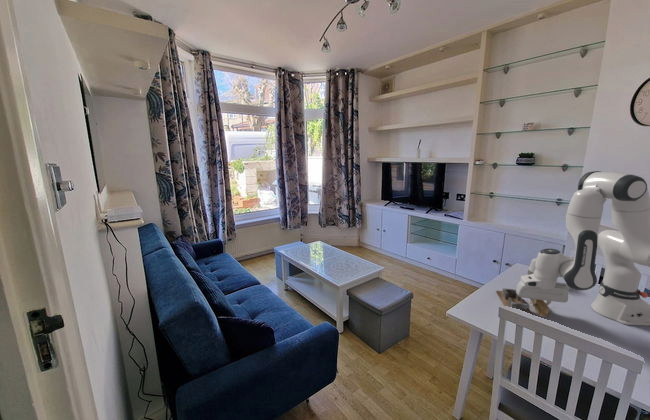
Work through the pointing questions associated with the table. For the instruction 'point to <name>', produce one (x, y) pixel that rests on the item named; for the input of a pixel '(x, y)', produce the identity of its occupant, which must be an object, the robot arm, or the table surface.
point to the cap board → (513, 300)
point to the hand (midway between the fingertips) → (538, 306)
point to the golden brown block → (541, 307)
